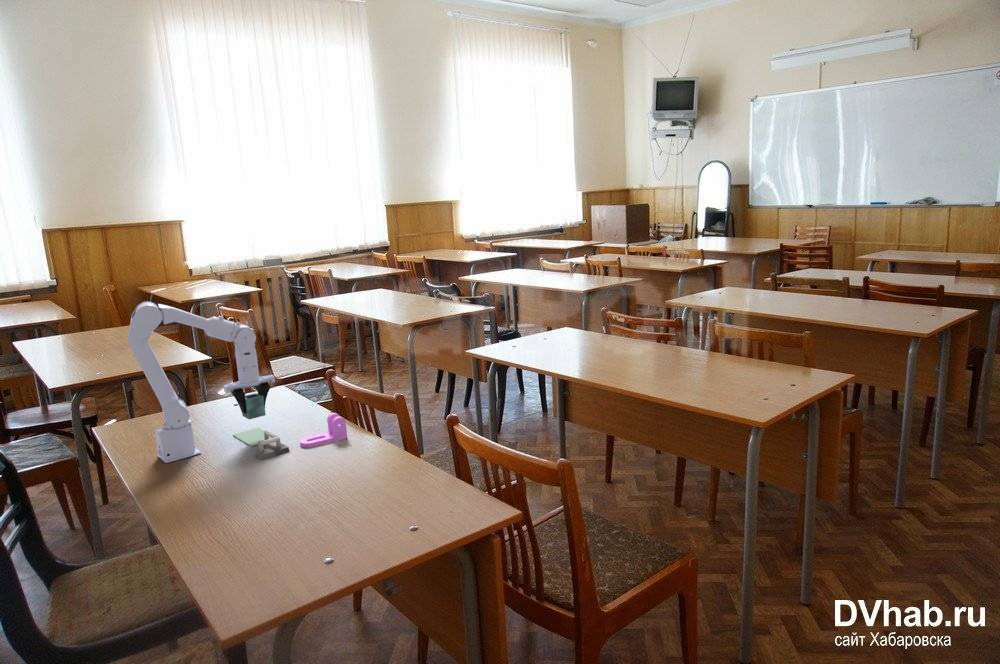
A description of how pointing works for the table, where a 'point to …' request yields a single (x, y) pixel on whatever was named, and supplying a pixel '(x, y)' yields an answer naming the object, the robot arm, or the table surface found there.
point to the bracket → (334, 432)
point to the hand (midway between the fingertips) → (253, 410)
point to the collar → (254, 406)
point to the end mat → (251, 436)
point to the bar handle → (270, 446)
